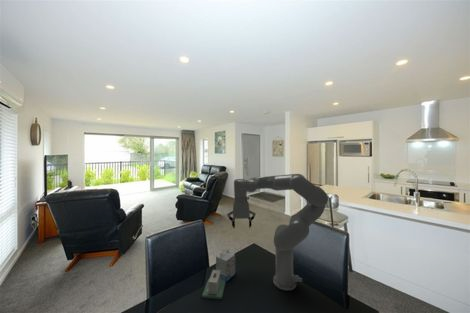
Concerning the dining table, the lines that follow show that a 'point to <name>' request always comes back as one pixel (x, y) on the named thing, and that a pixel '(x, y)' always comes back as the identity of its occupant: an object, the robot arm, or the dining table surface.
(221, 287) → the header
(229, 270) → the ink box
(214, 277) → the white switch box
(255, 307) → the dining table surface
